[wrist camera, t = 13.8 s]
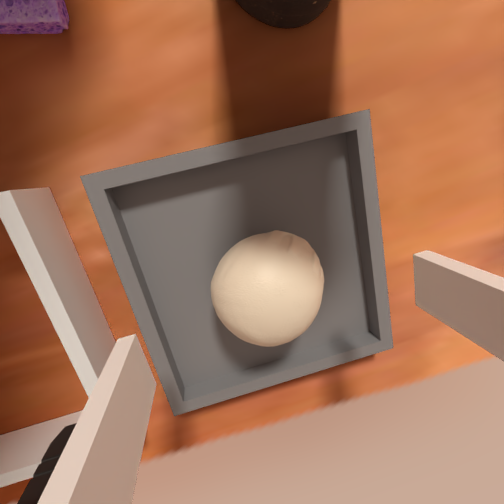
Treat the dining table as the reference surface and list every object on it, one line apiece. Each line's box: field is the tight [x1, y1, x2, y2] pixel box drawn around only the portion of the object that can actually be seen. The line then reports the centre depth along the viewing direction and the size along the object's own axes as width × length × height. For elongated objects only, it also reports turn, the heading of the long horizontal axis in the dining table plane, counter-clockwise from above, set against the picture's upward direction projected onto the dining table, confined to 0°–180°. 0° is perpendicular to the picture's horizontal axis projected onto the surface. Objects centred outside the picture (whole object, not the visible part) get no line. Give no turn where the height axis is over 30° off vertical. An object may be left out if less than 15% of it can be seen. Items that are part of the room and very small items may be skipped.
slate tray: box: [80, 109, 393, 416], centre depth 21 cm, size 18×18×2 cm
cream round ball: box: [211, 230, 324, 347], centre depth 18 cm, size 7×7×7 cm
